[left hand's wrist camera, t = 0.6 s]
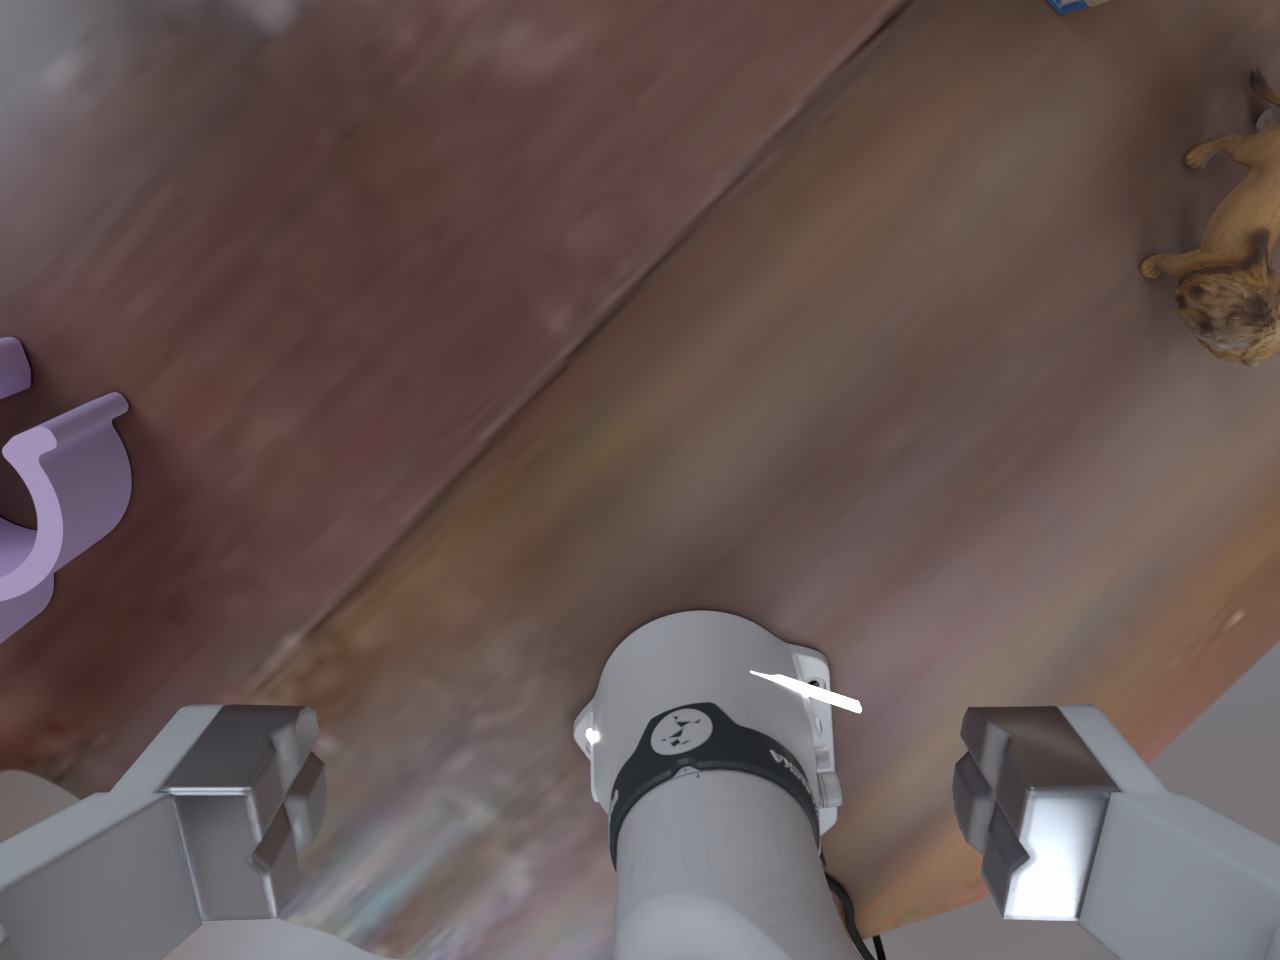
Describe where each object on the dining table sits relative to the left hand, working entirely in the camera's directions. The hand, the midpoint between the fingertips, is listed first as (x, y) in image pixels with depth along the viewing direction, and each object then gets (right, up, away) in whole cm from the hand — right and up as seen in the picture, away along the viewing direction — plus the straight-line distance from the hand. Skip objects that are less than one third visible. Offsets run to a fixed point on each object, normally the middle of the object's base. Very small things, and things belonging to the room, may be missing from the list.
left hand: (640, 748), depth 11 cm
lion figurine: (+32, +18, +38) cm, 53 cm away
